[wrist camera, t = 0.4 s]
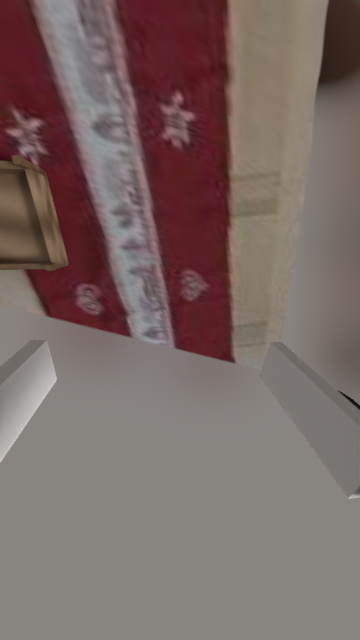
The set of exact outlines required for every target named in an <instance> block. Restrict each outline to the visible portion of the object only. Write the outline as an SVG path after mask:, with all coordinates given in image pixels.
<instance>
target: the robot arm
mask: <svg viewBox="0 0 360 640" xmlns="http://www.w3.org/2000/svg"><path fill="white" fill-rule="evenodd" d="M260 377H261V378H262V380H263V381H264V383H265V384H266V385H267V387H268V388H269V389H270V390H271V392H272V394H273V395H274V396H275V398H276V399H277V401H278V402H279V403H280V405H281V406H282V407H283V409H284V410H285V412H286V413H287V414H288V415H289V417H290V419H291V420H292V421H293V422H294V424H295V425H296V427H297V428H298V429H299V431H300V432H301V434H302V435H303V436H304V438H305V439H306V441H307V442H308V443H309V445H310V446H311V448H312V449H313V450H314V452H315V453H316V454H317V456H318V457H319V459H320V460H321V461H322V463H323V464H324V466H325V467H326V468H327V470H328V471H329V472H330V474H331V475H332V477H333V478H334V479H335V481H336V482H337V484H338V485H339V486H340V488H341V489H342V490H343V492H344V493H345V495H346V496H347V497H348V498H357V497H360V405H359V404H357V403H356V402H355V401H354V400H353V399H351V398H350V397H348V396H346V395H345V394H343V393H342V392H340V391H338V390H336V389H335V388H334V387H333V386H332V385H330V384H329V383H328V382H327V381H326V380H325V379H324V378H322V377H321V376H320V375H319V374H318V373H317V372H315V371H314V370H313V369H312V368H311V367H310V366H309V365H307V364H306V363H305V362H304V361H303V360H302V359H300V358H299V357H298V356H297V355H296V354H295V353H294V352H292V351H291V350H290V349H289V348H288V347H287V346H286V345H284V344H283V343H282V342H271V344H270V347H269V350H268V353H267V356H266V359H265V362H264V365H263V368H262V371H261V374H260ZM56 380H57V378H56V374H55V370H54V366H53V362H52V358H51V354H50V350H49V346H48V342H47V340H31V341H30V342H29V343H27V344H26V345H25V346H24V347H23V348H22V349H20V350H19V351H18V352H17V353H16V354H14V355H13V356H12V357H11V358H10V359H9V360H8V361H6V362H5V363H4V364H3V365H2V366H0V462H1V461H2V459H3V458H4V456H5V455H6V453H7V452H8V451H9V449H10V448H11V446H12V445H13V443H14V442H15V440H16V439H17V437H18V436H19V434H20V433H21V432H22V430H23V429H24V427H25V426H26V424H27V423H28V421H29V420H30V418H31V417H32V415H33V414H34V412H35V411H36V410H37V408H38V406H39V405H40V404H41V402H42V401H43V399H44V398H45V396H46V395H47V393H48V392H49V390H50V389H51V388H52V386H53V385H54V383H55V382H56Z"/></svg>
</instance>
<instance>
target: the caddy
mask: <svg viewBox="0 0 360 640" xmlns="http://www.w3.org/2000/svg"><path fill="white" fill-rule="evenodd" d="M12 159H13V161H0V270H17V269H46V271H52V270H55V269H58V268H61V267H64V266H67V265H69V264H68V260H67V255H66V251H65V247H64V243H63V239H62V235H61V231H60V227H59V223H58V219H57V215H56V211H55V207H54V203H53V199H52V195H51V191H50V187H49V182H48V178H47V174H46V171H44V170H43V169H41V168H39V167H37V166H36V165H34V164H32V163H30V162H29V161H27V160H25V159H24V158H22V157H20V156H12Z"/></svg>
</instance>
